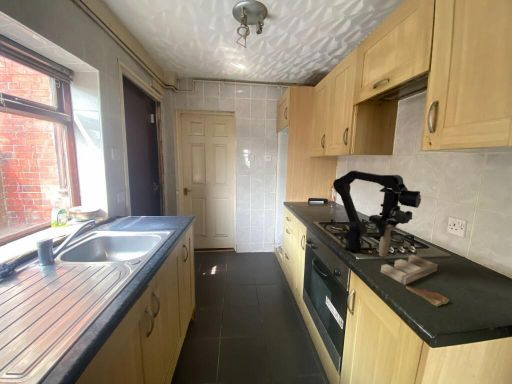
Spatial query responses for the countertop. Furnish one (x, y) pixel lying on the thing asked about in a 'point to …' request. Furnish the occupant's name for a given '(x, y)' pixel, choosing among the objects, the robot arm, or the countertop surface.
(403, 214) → the robot arm
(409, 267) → the notched rail
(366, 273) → the countertop surface
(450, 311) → the countertop surface
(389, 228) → the handle
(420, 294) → the shard
